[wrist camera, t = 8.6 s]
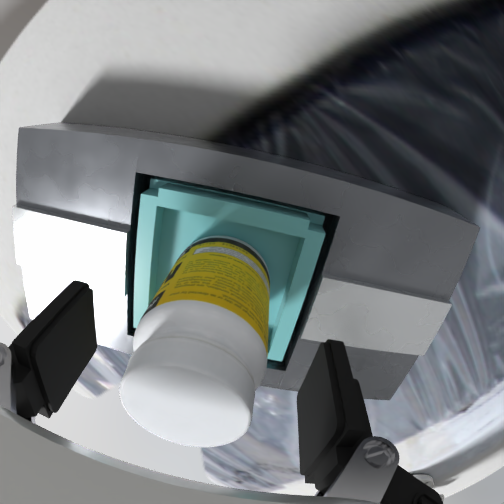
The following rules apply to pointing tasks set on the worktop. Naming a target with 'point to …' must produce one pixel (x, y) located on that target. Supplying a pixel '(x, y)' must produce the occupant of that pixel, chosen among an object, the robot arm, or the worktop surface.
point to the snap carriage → (234, 225)
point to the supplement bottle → (201, 346)
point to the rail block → (257, 184)
